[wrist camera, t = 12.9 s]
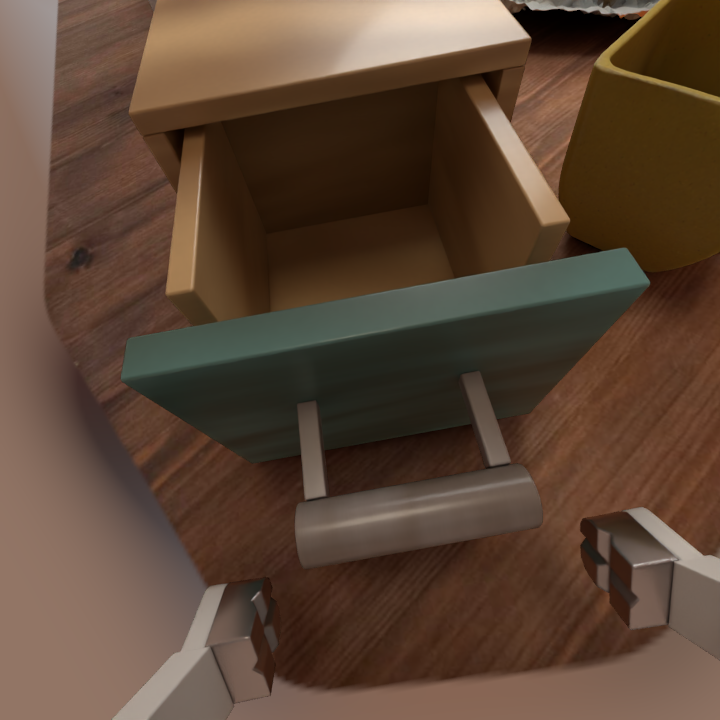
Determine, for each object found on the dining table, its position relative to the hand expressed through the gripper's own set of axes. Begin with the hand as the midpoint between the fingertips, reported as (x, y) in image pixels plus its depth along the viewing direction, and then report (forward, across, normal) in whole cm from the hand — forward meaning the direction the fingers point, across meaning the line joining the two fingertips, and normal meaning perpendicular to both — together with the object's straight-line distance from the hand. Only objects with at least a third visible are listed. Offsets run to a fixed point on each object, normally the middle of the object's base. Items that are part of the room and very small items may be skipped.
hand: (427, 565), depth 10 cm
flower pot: (+15, -16, -6) cm, 22 cm away
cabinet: (+20, 0, -11) cm, 22 cm away
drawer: (+10, 0, -3) cm, 11 cm away
